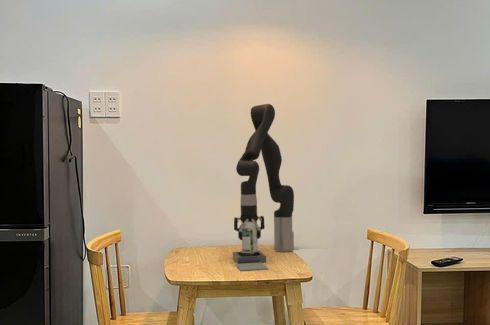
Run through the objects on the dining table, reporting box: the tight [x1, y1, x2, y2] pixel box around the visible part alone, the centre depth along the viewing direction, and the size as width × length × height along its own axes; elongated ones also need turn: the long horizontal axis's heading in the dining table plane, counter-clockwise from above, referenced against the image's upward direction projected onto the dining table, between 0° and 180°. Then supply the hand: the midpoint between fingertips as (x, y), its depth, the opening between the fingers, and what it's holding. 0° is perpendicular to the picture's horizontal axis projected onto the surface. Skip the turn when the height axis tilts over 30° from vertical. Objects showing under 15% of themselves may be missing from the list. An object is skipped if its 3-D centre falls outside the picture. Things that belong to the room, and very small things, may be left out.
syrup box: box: [240, 221, 259, 254], centre depth 226 cm, size 6×6×14 cm
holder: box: [232, 250, 267, 264], centre depth 226 cm, size 13×13×3 cm
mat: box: [234, 262, 269, 272], centre depth 212 cm, size 12×12×1 cm
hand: (249, 239), depth 226 cm, fingers closed on syrup box, 8 cm apart
